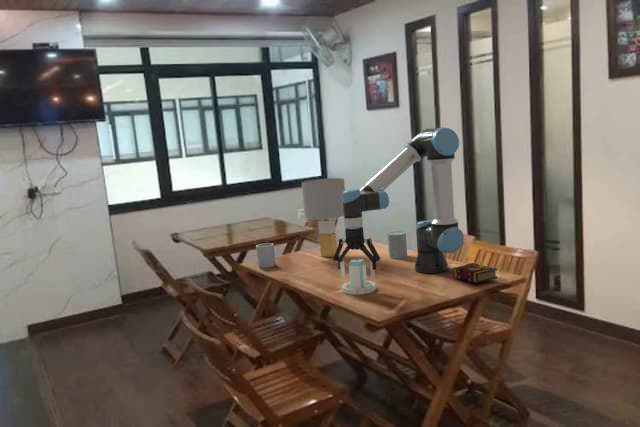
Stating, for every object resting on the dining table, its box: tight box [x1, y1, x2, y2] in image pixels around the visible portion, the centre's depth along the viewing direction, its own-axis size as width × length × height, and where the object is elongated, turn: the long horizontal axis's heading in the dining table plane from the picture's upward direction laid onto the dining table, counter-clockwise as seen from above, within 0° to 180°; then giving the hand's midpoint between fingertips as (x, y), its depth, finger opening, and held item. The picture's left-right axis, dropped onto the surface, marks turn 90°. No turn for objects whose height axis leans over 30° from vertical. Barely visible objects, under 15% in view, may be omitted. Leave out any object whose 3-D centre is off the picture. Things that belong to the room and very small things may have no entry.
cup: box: [255, 242, 276, 269], centre depth 290 cm, size 9×9×12 cm
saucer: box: [341, 279, 377, 296], centre depth 233 cm, size 14×14×2 cm
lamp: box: [301, 177, 346, 258], centre depth 300 cm, size 23×23×42 cm
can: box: [348, 258, 368, 289], centre depth 233 cm, size 7×7×12 cm
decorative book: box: [452, 262, 498, 284], centre depth 237 cm, size 11×16×5 cm
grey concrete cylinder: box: [387, 231, 408, 260], centre depth 288 cm, size 10×10×12 cm
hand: (357, 277), depth 233 cm, fingers open, 13 cm apart
